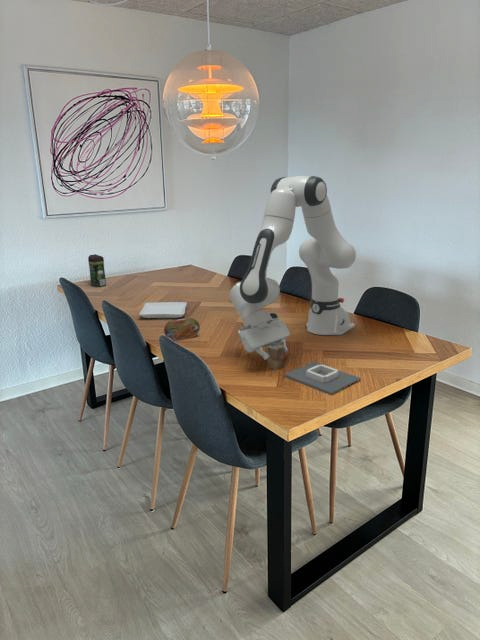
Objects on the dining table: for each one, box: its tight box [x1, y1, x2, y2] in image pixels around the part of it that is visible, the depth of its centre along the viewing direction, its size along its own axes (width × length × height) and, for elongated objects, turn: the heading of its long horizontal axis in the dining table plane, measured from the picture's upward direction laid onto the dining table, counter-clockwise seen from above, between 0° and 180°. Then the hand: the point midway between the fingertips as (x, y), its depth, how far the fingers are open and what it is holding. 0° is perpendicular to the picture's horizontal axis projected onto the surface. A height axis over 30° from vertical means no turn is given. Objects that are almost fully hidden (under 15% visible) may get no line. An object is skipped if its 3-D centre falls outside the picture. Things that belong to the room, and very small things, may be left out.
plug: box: [267, 343, 284, 371], centre depth 177 cm, size 4×4×8 cm
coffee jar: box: [87, 254, 107, 288], centre depth 297 cm, size 10×8×19 cm
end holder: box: [283, 361, 362, 395], centre depth 168 cm, size 16×20×3 cm
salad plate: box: [139, 301, 188, 319], centre depth 242 cm, size 21×21×3 cm
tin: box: [163, 317, 201, 342], centre depth 207 cm, size 15×3×8 cm, turn 115°
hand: (276, 355), depth 177 cm, fingers open, 8 cm apart
